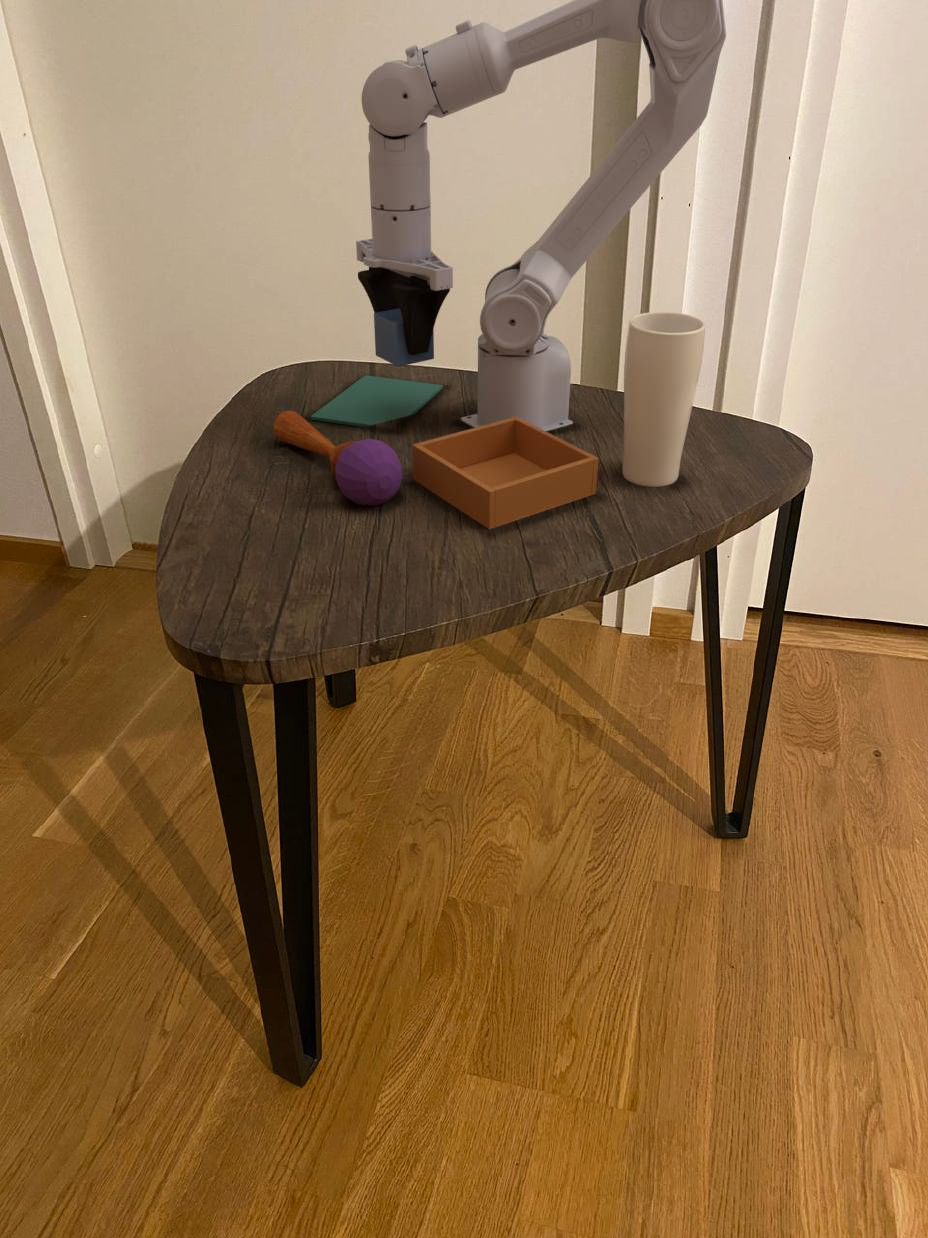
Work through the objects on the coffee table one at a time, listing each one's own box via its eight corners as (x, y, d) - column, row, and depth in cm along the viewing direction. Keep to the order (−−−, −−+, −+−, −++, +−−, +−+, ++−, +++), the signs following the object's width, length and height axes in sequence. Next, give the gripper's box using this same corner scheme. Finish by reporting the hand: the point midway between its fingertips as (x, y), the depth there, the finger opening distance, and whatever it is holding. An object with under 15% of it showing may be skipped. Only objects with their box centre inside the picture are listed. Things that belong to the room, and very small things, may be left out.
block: (410, 347, 104) (409, 305, 102) (434, 358, 101) (433, 315, 99) (375, 355, 102) (373, 312, 99) (398, 367, 99) (396, 323, 96)
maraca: (316, 397, 101) (417, 447, 86) (313, 453, 103) (411, 511, 89) (262, 397, 98) (357, 450, 83) (260, 456, 100) (353, 517, 85)
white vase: (700, 484, 93) (723, 326, 85) (644, 500, 90) (663, 338, 82) (653, 459, 98) (671, 307, 90) (599, 473, 95) (612, 318, 87)
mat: (365, 378, 117) (365, 374, 117) (443, 388, 115) (443, 384, 114) (310, 419, 106) (310, 416, 106) (395, 431, 104) (395, 428, 103)
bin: (515, 453, 99) (516, 416, 97) (595, 497, 90) (598, 457, 88) (413, 483, 93) (412, 444, 91) (489, 533, 85) (489, 491, 82)
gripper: (326, 197, 96) (336, 335, 104) (406, 223, 87) (410, 373, 94) (387, 190, 100) (392, 323, 107) (471, 214, 90) (470, 359, 97)
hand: (404, 346), depth 101 cm, fingers closed on block, 4 cm apart
